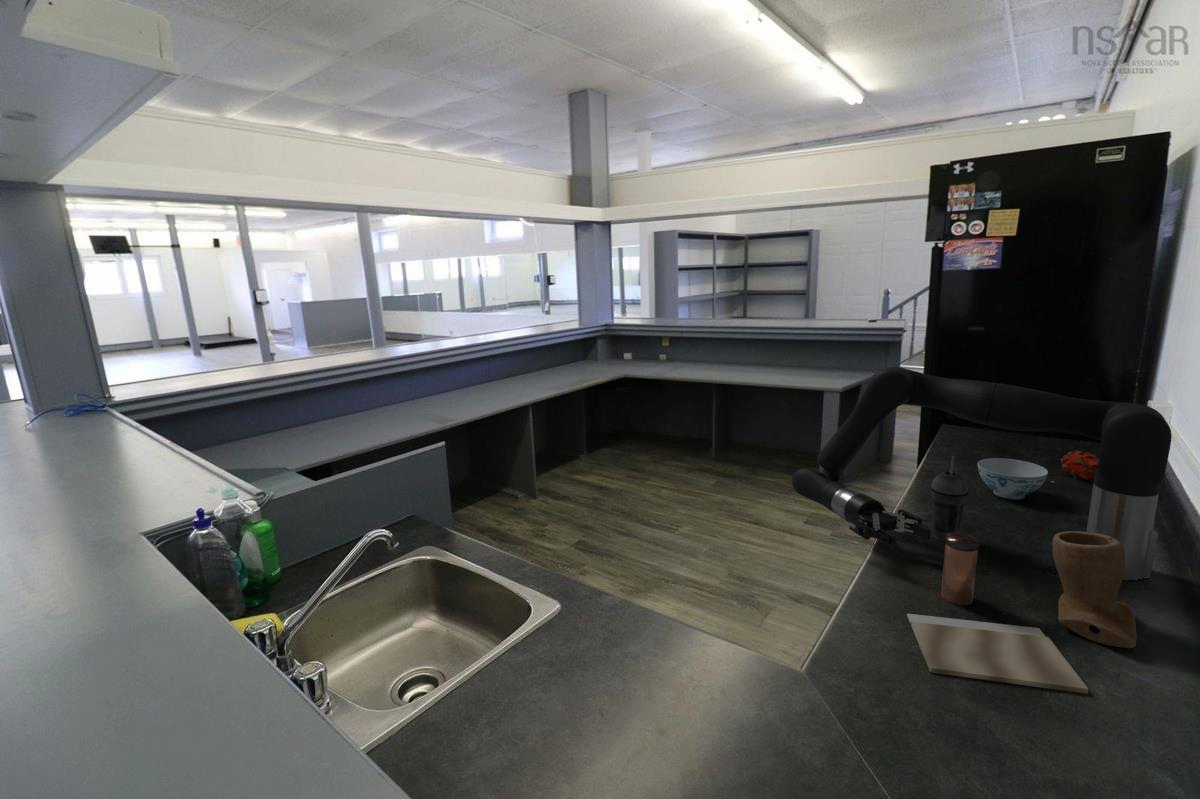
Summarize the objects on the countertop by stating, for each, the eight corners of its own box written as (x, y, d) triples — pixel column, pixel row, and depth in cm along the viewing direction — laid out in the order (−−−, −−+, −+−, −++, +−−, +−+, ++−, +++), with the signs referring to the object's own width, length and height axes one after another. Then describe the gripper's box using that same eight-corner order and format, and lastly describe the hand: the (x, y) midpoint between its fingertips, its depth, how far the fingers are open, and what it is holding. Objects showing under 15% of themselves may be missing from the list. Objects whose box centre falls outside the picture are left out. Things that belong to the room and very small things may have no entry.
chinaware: (982, 502, 144) (985, 474, 143) (969, 482, 158) (971, 456, 156) (1053, 508, 139) (1057, 479, 137) (1033, 487, 152) (1037, 460, 151)
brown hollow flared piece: (1047, 590, 105) (1057, 516, 102) (1134, 613, 97) (1148, 534, 94) (1037, 629, 94) (1048, 547, 91) (1134, 658, 86) (1150, 570, 83)
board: (1047, 641, 91) (1048, 637, 91) (1087, 693, 80) (1088, 689, 79) (911, 625, 96) (911, 621, 96) (930, 672, 85) (930, 667, 85)
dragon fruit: (1055, 477, 163) (1107, 494, 153) (1051, 466, 157) (1104, 484, 148) (1068, 452, 163) (1121, 467, 154) (1065, 441, 158) (1119, 456, 149)
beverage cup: (961, 533, 128) (969, 450, 124) (966, 547, 122) (975, 460, 118) (925, 528, 132) (931, 447, 127) (928, 542, 125) (935, 457, 121)
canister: (967, 591, 106) (973, 533, 103) (977, 607, 101) (983, 546, 98) (936, 588, 107) (941, 531, 104) (945, 603, 102) (950, 543, 100)
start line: (1038, 629, 94) (1039, 628, 94) (1045, 638, 92) (1045, 636, 91) (906, 615, 99) (907, 613, 99) (910, 622, 97) (910, 621, 97)
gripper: (830, 497, 126) (883, 527, 110) (883, 489, 129) (942, 516, 114) (829, 528, 127) (881, 561, 112) (881, 518, 131) (939, 550, 116)
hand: (911, 538), depth 113 cm, fingers open, 8 cm apart
